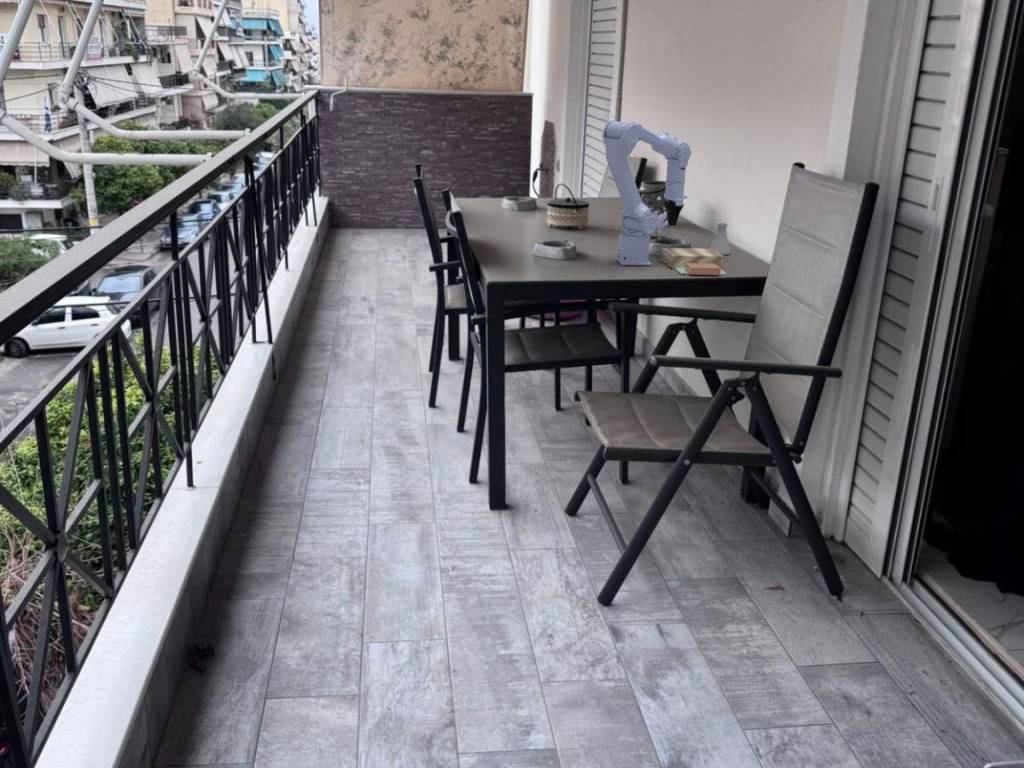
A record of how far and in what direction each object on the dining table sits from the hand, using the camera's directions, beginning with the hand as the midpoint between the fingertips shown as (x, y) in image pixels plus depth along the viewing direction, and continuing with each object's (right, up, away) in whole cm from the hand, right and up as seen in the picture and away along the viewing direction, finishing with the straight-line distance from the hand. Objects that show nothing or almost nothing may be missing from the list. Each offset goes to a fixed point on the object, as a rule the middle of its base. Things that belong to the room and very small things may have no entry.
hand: (672, 225), depth 289 cm
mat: (+6, -17, -15) cm, 23 cm away
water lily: (0, +2, +36) cm, 36 cm away
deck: (+5, -13, -6) cm, 15 cm away
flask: (+18, -7, +12) cm, 23 cm away
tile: (+6, -15, -18) cm, 24 cm away
